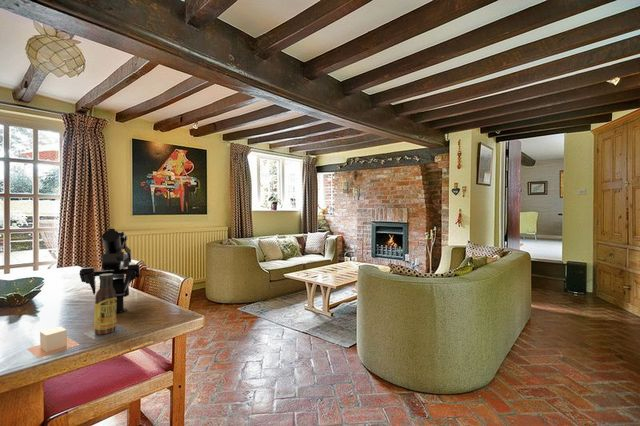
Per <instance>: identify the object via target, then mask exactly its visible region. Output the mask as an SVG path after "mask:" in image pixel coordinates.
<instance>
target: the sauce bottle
mask: <svg viewBox="0 0 640 426" xmlns="http://www.w3.org/2000/svg"><path fill="white" fill-rule="evenodd" d="M98 277H99V289H98V290H97V292H96V293H95V296H94V297H95V301H94V319H93V320H94V321H93V327H94V330H95V331H94V332H95V334H98V335H101V334H108V333H111V332H113V331H114V330H115V326H116V324H117V313H116V307H117V297H116V292H115V290H114V288H113V278H114V274H112V273H107V274H101V275H100V276H98Z"/></svg>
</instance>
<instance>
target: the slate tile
mask: <svg viewBox="0 0 640 426" xmlns="http://www.w3.org/2000/svg"><path fill="white" fill-rule="evenodd" d="M94 331H95V329H94V330H90V331H87V332H84V333H82V334H83V335H85V336H86V337H88V338H90V339H92V340H94V341H96V342H97V341H101V340H104V339H106V338H110V337H112V336H116V335H118V334H121V333H125V332H128V331H130V330H129V329H127V328H126V327H123V326H121V325H119V324H117V323H116V326H115V330H114V331H113V332H111V333H108V334H101V335H98V334H95V332H94Z"/></svg>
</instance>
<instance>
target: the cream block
mask: <svg viewBox="0 0 640 426" xmlns="http://www.w3.org/2000/svg"><path fill="white" fill-rule="evenodd" d="M39 335H40V336H39V337H40V339H39V341H40V342H39V343H40V344H39V345H40V348H41V349H43V350H44V351H45V352H48V351H52V350H55V349H58V348H61V347H64V346H67V337H68V330H67V329H66V328H64V327H62V326H61V325H60V326H57V327H52V328H50V329H45V330H41V331H39Z"/></svg>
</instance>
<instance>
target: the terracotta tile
mask: <svg viewBox="0 0 640 426" xmlns="http://www.w3.org/2000/svg"><path fill="white" fill-rule="evenodd" d="M80 345H81V344H80V343H78V342H76V341H75V340H74V339H72V338H70V337H68V336H67V346H64V347H61V348H58V349H55V350H52V351H48V352H45V351H44V350H43V349H41V348H40V344H38V345H36V346H31V347H29V348H26V350H27V351H29V353H31V354H32V355H34V356H35V357H36V358H37V359H39V358H43V357H46V356H49V355H53V354H56V353H59V352H61V351H64V350H68V349H72V348H75V347H77V346H80Z"/></svg>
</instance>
